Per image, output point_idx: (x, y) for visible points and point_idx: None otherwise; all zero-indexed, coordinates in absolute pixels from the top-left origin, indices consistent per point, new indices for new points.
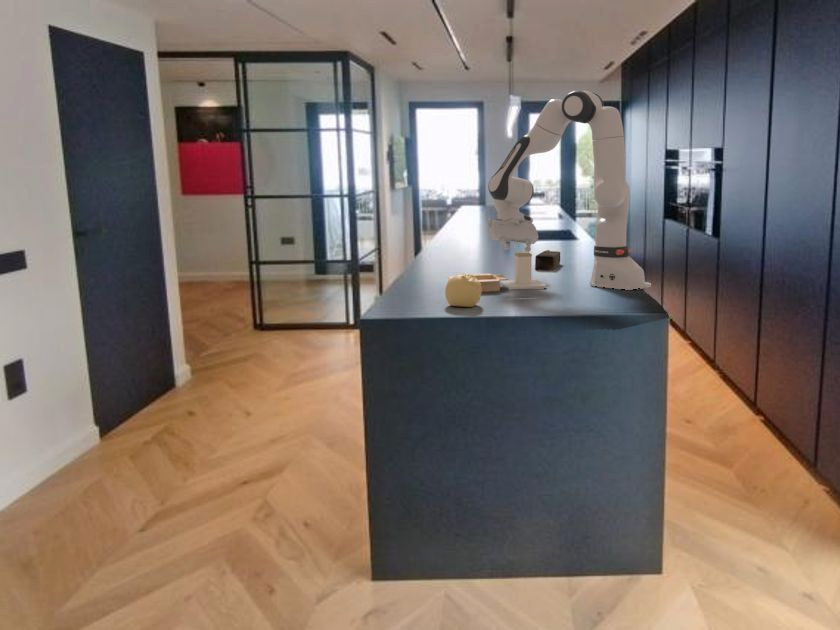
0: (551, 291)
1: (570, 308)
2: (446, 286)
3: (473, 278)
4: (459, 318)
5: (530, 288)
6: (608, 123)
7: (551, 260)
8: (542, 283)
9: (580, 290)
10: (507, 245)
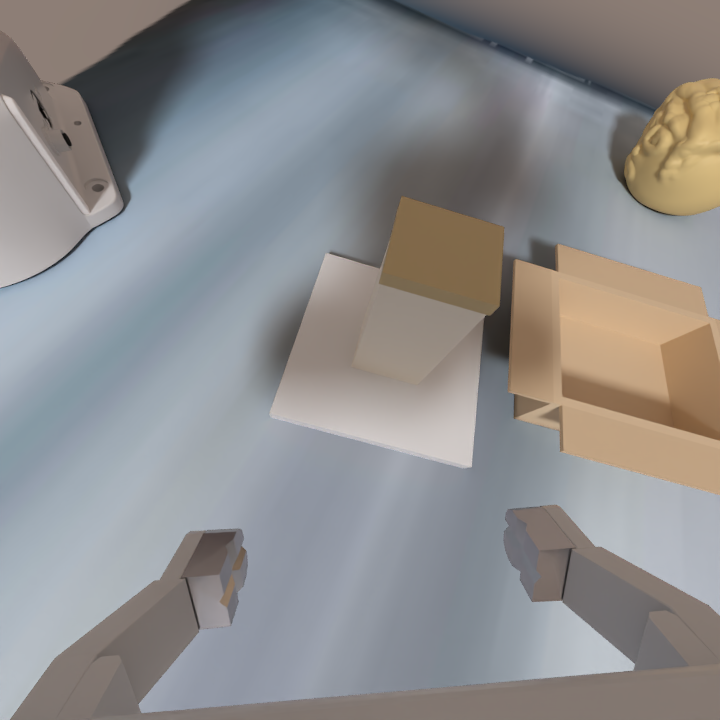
0: (336, 217)
1: (412, 59)
2: None
3: (713, 84)
4: None
5: None
6: None
7: None
8: (313, 298)
9: (227, 181)
10: (552, 526)
